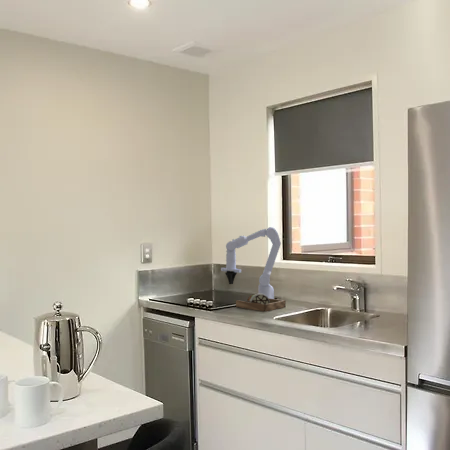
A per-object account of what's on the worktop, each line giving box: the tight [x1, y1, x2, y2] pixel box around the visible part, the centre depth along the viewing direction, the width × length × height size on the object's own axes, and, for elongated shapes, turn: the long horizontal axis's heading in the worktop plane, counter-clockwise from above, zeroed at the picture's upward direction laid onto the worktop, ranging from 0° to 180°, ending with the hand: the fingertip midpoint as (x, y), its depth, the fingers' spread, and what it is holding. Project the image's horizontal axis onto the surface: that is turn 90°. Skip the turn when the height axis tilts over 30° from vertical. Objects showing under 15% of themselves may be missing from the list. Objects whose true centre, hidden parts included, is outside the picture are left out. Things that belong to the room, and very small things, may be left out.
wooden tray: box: [235, 298, 287, 312], centre depth 291 cm, size 18×21×4 cm
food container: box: [246, 293, 270, 304], centre depth 290 cm, size 12×6×10 cm
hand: (231, 283), depth 312 cm, fingers closed
